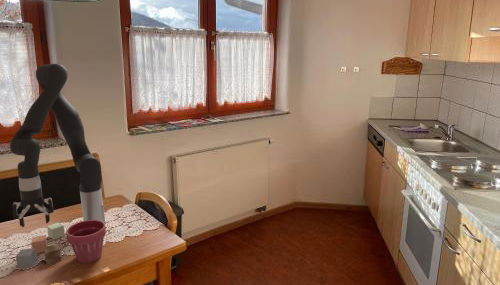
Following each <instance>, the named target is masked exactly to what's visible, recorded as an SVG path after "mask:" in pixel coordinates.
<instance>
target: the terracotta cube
mask: <svg viewBox="0 0 500 285" xmlns="http://www.w3.org/2000/svg"><path fill="white" fill-rule="evenodd" d="M30 244H31V249H34V248H35V253H36V254H39V253H44V247H48V241H47V236H46V234H43V235H36V236H32V238H31V243H30Z"/></svg>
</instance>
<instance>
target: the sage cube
mask: <svg viewBox="0 0 500 285" xmlns="http://www.w3.org/2000/svg"><path fill="white" fill-rule="evenodd" d="M46 229H47V236H48V237H49V238H50V239H51V240H53V241H55V240H57V239H60V238H63V237H65V236H66V231H65V226H64V224H62V223H60V222H55V223H52V224H50V225H46Z"/></svg>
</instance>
